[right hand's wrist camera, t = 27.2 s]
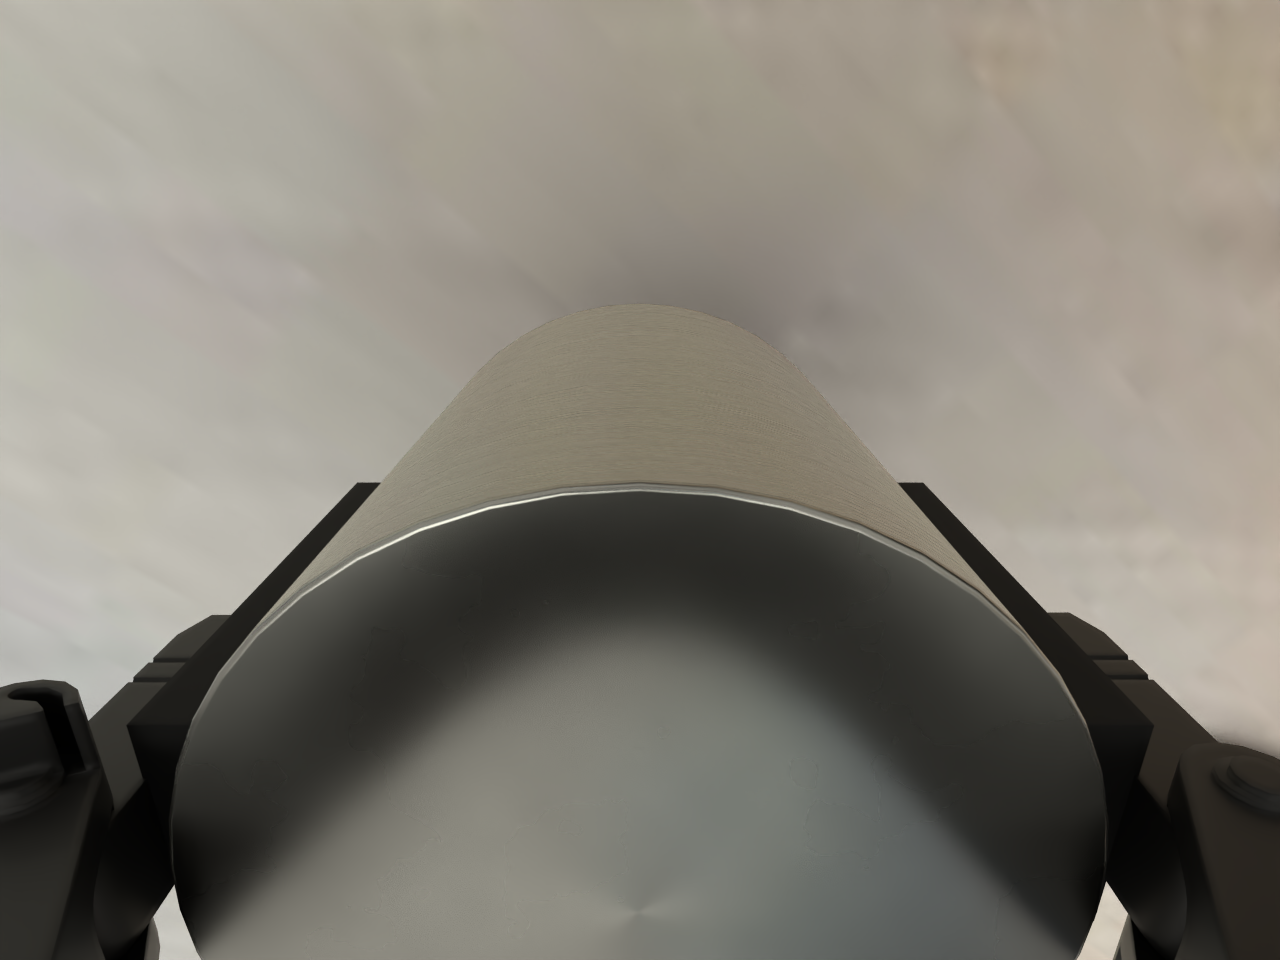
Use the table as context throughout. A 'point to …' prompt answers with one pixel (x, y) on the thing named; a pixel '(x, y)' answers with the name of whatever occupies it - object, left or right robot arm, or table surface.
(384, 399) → the table surface
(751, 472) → the can
